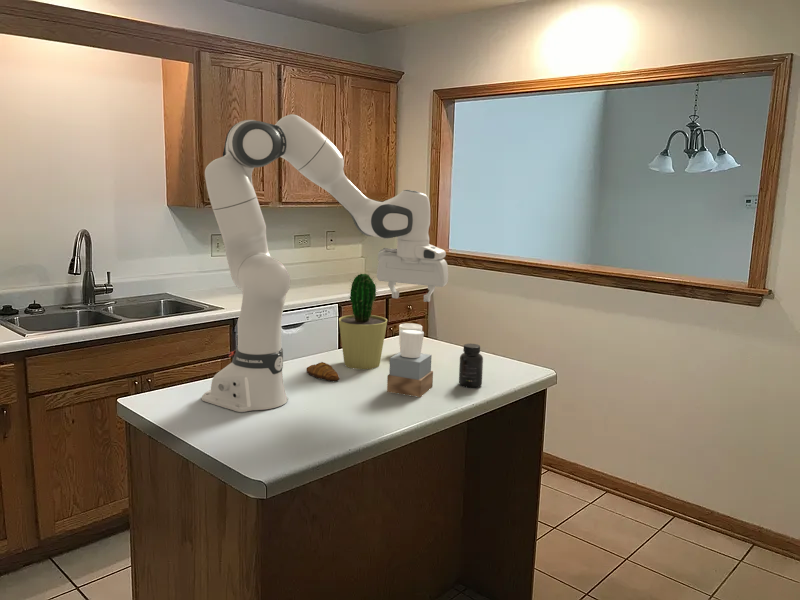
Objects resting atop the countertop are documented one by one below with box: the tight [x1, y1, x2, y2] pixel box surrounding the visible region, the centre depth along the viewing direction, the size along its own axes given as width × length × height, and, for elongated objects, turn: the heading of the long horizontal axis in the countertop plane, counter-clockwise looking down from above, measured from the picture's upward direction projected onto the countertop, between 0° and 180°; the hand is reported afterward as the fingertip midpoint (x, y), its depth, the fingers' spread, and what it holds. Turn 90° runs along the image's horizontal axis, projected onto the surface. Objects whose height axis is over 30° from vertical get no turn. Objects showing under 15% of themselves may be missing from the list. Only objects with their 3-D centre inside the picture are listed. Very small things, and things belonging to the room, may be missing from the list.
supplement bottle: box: [458, 343, 484, 389], centre depth 191 cm, size 7×7×12 cm
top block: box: [388, 351, 432, 380], centre depth 185 cm, size 9×9×5 cm
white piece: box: [399, 329, 425, 358], centre depth 184 cm, size 7×7×7 cm
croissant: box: [305, 361, 340, 382], centre depth 195 cm, size 14×7×5 cm, turn 48°
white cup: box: [398, 322, 423, 352], centre depth 222 cm, size 8×8×10 cm
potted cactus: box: [338, 272, 388, 370], centre depth 206 cm, size 15×15×30 cm
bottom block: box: [386, 370, 434, 398], centre depth 186 cm, size 10×10×5 cm
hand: (411, 299), depth 182 cm, fingers open, 8 cm apart
